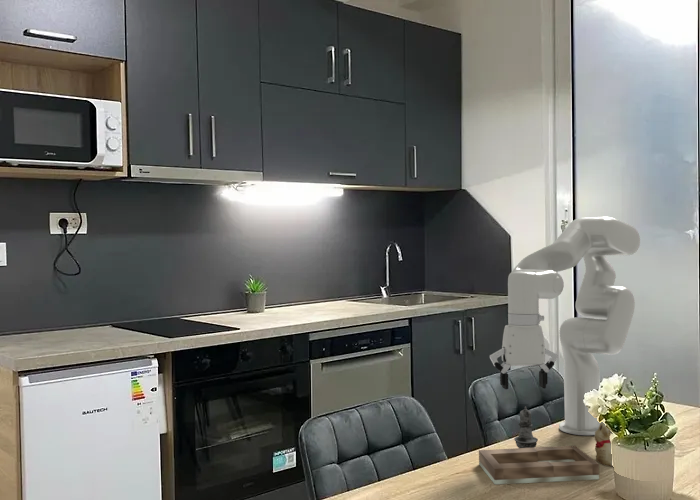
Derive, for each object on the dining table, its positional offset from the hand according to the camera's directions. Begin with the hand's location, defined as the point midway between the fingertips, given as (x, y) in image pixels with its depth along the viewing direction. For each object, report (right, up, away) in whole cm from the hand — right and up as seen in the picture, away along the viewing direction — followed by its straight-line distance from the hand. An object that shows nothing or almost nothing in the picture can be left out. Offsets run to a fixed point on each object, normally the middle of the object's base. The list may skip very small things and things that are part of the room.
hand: (523, 387), depth 182 cm
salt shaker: (+1, -17, +1) cm, 17 cm away
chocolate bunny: (+18, -17, -7) cm, 26 cm away
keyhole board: (0, -17, -13) cm, 22 cm away
